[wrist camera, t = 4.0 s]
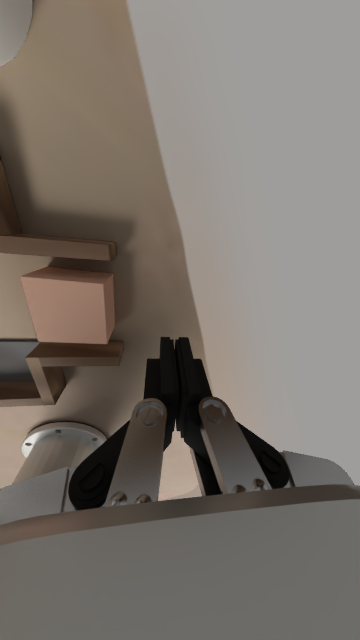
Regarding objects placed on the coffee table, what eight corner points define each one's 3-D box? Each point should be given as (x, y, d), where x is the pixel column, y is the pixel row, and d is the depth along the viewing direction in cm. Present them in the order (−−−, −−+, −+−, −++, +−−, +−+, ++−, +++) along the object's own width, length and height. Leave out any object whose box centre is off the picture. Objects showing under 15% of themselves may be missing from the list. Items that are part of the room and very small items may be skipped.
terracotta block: (115, 324, 20) (107, 344, 17) (59, 321, 19) (38, 341, 16) (113, 273, 18) (103, 284, 14) (48, 266, 17) (19, 276, 13)
